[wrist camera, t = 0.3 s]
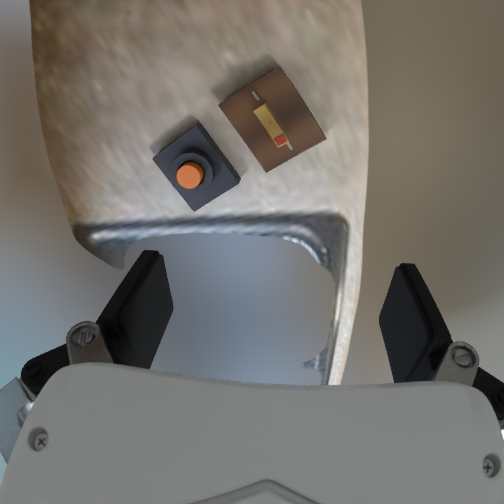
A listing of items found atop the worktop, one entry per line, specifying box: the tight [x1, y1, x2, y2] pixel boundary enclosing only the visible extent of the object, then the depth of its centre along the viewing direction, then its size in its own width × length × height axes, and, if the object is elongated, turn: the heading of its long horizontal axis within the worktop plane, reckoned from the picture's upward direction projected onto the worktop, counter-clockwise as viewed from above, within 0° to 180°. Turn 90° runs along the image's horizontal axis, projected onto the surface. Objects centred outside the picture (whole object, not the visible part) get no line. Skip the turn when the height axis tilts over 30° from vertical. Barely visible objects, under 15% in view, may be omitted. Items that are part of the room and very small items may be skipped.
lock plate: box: [218, 67, 326, 172], centre depth 39 cm, size 12×10×3 cm
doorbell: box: [153, 123, 241, 211], centre depth 43 cm, size 11×9×4 cm
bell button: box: [177, 162, 203, 189], centre depth 41 cm, size 4×4×2 cm
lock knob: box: [253, 101, 289, 148], centre depth 35 cm, size 6×2×5 cm, turn 34°
